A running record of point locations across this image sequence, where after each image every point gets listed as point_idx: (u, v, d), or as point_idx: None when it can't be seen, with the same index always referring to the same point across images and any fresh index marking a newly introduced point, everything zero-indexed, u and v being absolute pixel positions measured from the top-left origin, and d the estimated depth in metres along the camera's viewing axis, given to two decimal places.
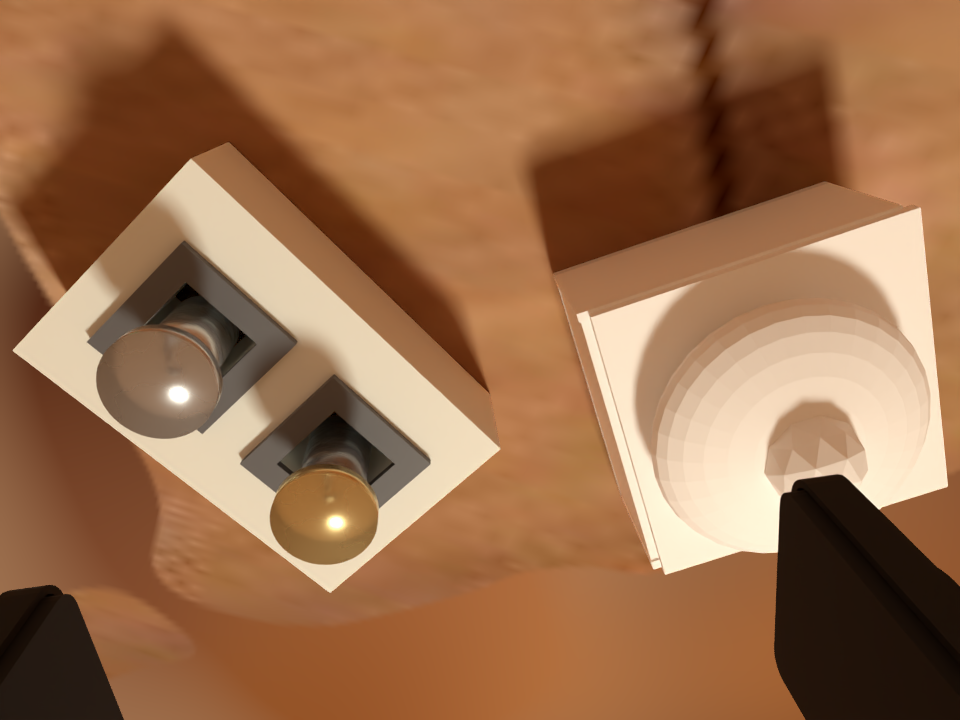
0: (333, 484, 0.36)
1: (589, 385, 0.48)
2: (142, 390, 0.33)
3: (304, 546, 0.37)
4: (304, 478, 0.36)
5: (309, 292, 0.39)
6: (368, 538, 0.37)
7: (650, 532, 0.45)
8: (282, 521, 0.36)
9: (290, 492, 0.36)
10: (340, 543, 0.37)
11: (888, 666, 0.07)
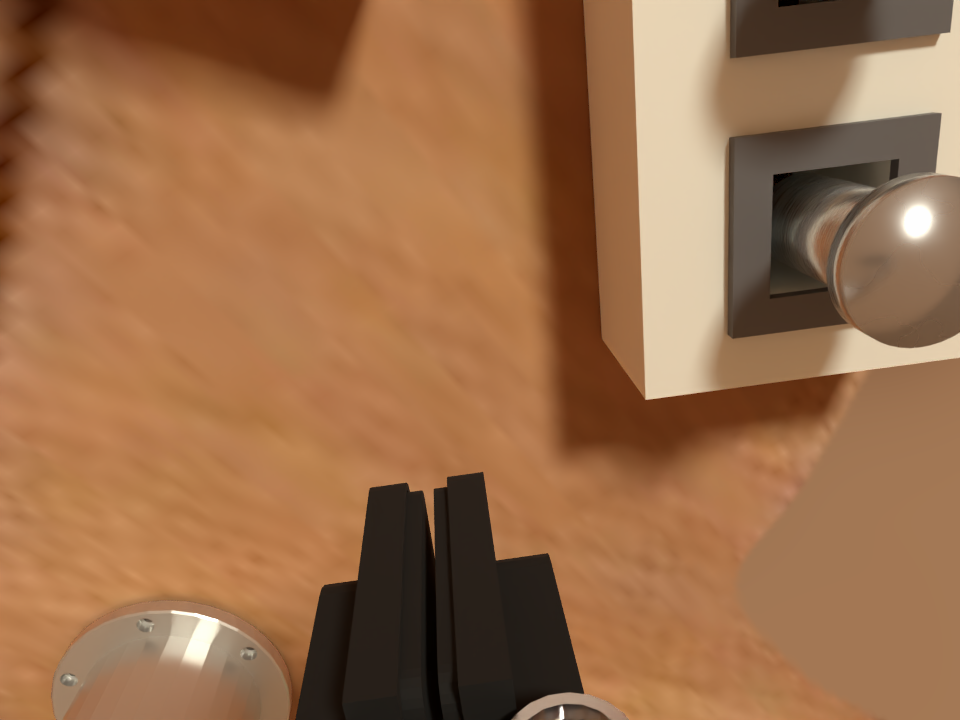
0: None
1: None
2: (947, 273, 0.22)
3: None
4: None
5: (662, 185, 0.27)
6: None
7: None
8: None
9: None
10: None
11: None
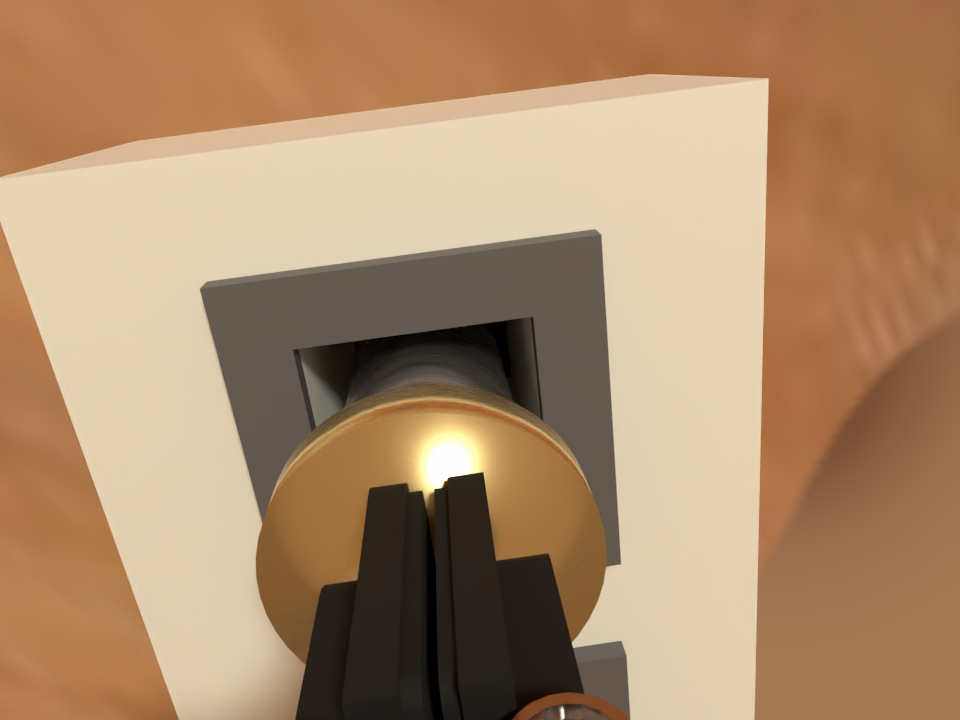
0: None
1: None
2: None
3: (549, 535, 0.11)
4: None
5: None
6: (355, 446, 0.10)
7: None
8: None
9: None
10: (447, 482, 0.11)
11: None
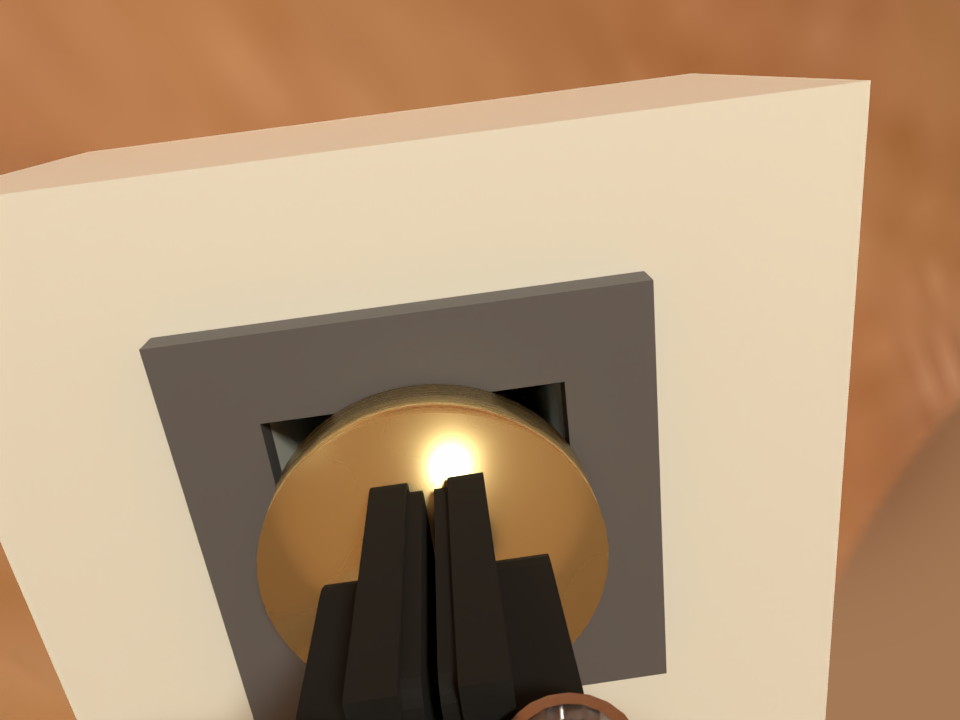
0: None
1: None
2: None
3: (551, 535, 0.11)
4: None
5: None
6: (356, 446, 0.10)
7: None
8: None
9: None
10: None
11: None
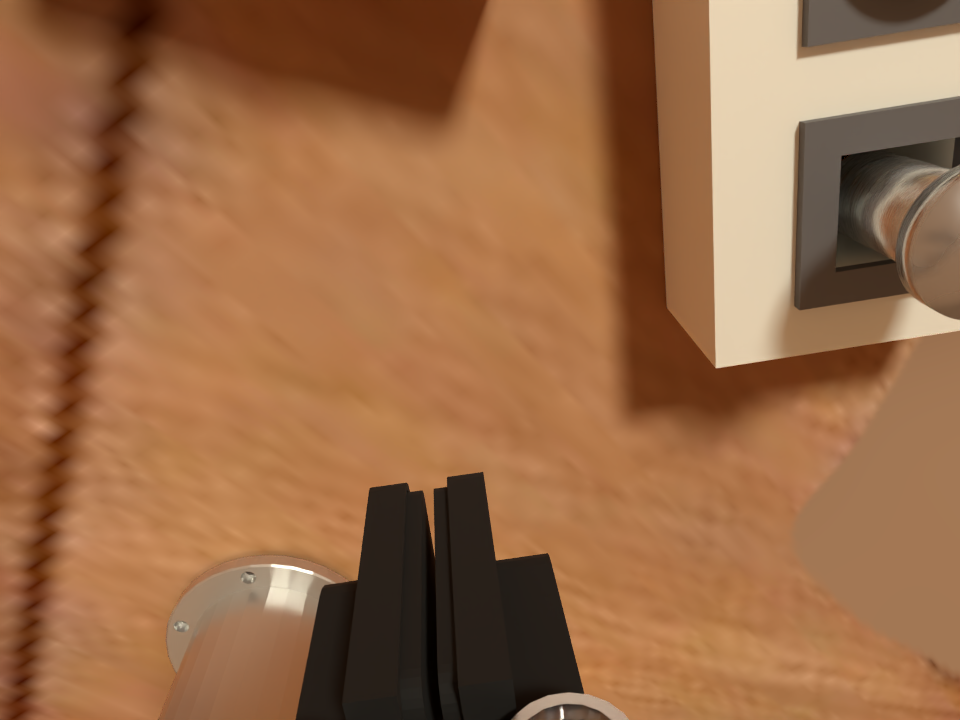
0: None
1: None
2: None
3: None
4: None
5: (735, 169, 0.29)
6: None
7: None
8: None
9: None
10: None
11: None
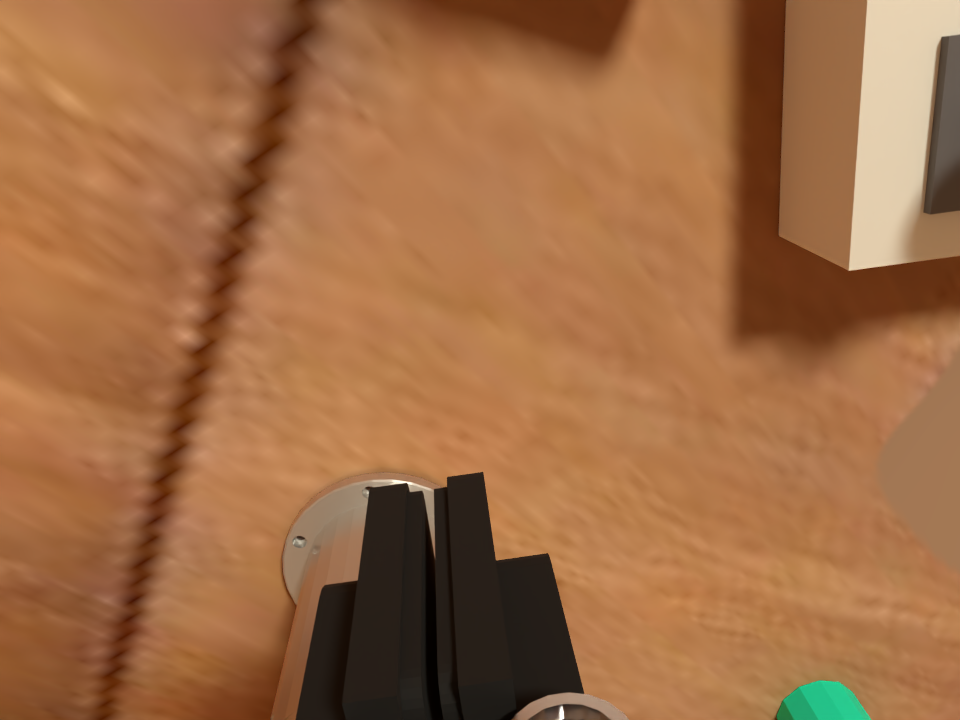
0: None
1: None
2: None
3: None
4: None
5: (882, 79, 0.32)
6: None
7: None
8: None
9: None
10: None
11: None
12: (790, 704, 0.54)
